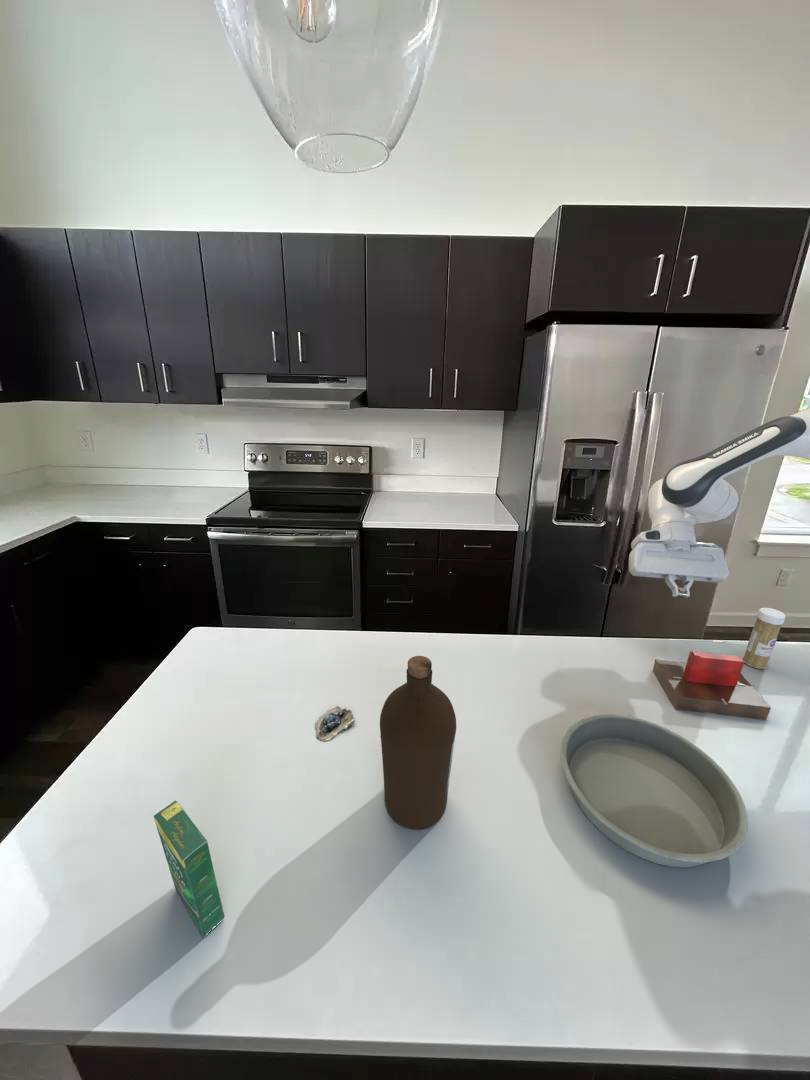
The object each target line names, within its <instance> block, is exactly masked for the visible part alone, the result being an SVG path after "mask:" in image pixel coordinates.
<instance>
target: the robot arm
mask: <svg viewBox="0 0 810 1080" xmlns="http://www.w3.org/2000/svg"><path fill="white" fill-rule="evenodd" d="M781 456H783V457H795V458H801V459H803V460H804V459H805V460H810V406H809V407H808V408H805V409H803V410H801V411H799V412H796V413H793V414H791V415H786V416H781V417H778V418H775V419H772V420H770V421H767V422H765V423H763V424H761V425H759V426H757V427H755V428H753V429H751V430H749V431H747V432H745V433H743V434H742V435H739V436H737V437H735V438H734V439H732V440H730V441H728V442H726V443H723V444H722V445H719V446H718V447H716V448H714V449H712V450H711V451H708V452H707V453H703V454H702V455H699V456H697V457H694V458H689V459H687V460H683V461H681V462H679V463H677V464H675V465H674V466H673V467H671V468H670V469H669V470H668V471H667V472H666V474H665V475H664V477H663V478H659V480H657V481H655V482H654V483H653V484H652V485H651V487H650V488H649V491H648V496H647V507H648V517H649V519H650V522H651V528H650V529H649V530H645V531H641V532H640V533H638V534H637V535H636V537H634V539H632V541H631V543H630V547H631V551H630V552H629V555H628V571H629V573H630V575H632V576H633V577H642V578H655V579H664V582H665V584H666V585H667V587H668V588H669V589H670V590H671V595H672V597H673V598H690V597H691V596H690V595H691V593H690V592H691V591H690V589H691V587H692V585H693V584H694V582H705V583H722V582H724V581H725V580H726V579H727V578H728V577H729V576H730V570H729V567H728V563H727V560H726V558H725V552H724V549H723V548H722V547H721V546H719V545H717V544H716V543H713V542H708V543H707V542H698V541H697V538H696V533H695V525H703V524H710V523H717V522H720V521H724V520H725V519H726V520H727V518H729V517H730V516H732V515H733V514H734V513H735V512H736V510H737V509H738V507H739V504H740V493H739V492H738V490H737V489H736V488H735V487H734V486H732V485H731V484H730V483H729V482H728V481H727V480H724V478H726V477H728V476H731V475H732V474H734V473H736V472H739V471H740V470H743V469H745V468H747V467H749V466H751V465H754V464H755V463H758V462H759V461H762V460H765V459H767V458H772V457H781ZM676 580H680V581H681V583H682V584H683V587H679V586H678V585H677V583H676V582H675V581H676Z"/></svg>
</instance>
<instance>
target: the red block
mask: <svg viewBox="0 0 810 1080" xmlns="http://www.w3.org/2000/svg"><path fill="white" fill-rule="evenodd" d="M686 663H687V664H686V667H685V671H684V674H683V677H684V678H685V680H686V681H687V682H696V683H705V684H714V685H723V686H732V687H736V684H737V682H738V679H739V676H740V673H741V674H742V670H743V667H744V664H745V663H744V661H743V658H741V657H740V656H737V655H728V654H718V653H710V652H708V653H707V652H698V651H695V650H691V651H689V654H688V658H687V660H686Z"/></svg>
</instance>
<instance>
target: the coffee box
mask: <svg viewBox="0 0 810 1080" xmlns="http://www.w3.org/2000/svg"><path fill="white" fill-rule="evenodd" d="M153 820H154V824H155V826H156V830H157V833H158V835H159V836H158V837H159V840H160V843H161V846H162V849H163V852H164V856H165V859H166V862H167V866H168V869H169V872H170V875H171V879H172V882H173V886H174V888H176V889H175V891H176V893H177V892H178V893H177V895H178V896H179V898H180V900H181V902H182V904H183V906H184V908H185V909H186V911H187V913H188V914H189V916H190V918H191V919H192V921H193V923H194V925H195V927H196V926H197V927H196V928H197V930H198V931H199V934H200V935H201V937H202V938H203V937H204V938H206V937H207V936H206V934H207V933H208V932H209V931H210V930H211V929H212V928H213V927H214V926H216V925H217V924H218V923H219V922H220V921H221V920H222V919H223V918H224V917H225V918H226V916H225V912H224V908H223V903H222V900H221V894H220V891H219V888H218V883H217V878H216V874H215V869H214V865H213V861H212V856H211V852H210V847H209V843H208V840H207V838H206V837H205V836H204V835H203V833H202V832H201V831H200V829H199V828H198V827H197V825H196V824H195V823H194V822H193V820H192V819H191V817H190V816H189V815H188V813H187V812H186V811H185V810H184V809H183V807H182V806H181V804H180V803H179V802H178V801H177V800H173V802H171V803H170V804H168V805H167V806H166V807H164V808H163V809H161V810H159V811H158V812H156V813H155V814H154V815H153ZM225 918H224V919H225ZM224 919H223V920H224ZM223 920H222V921H223ZM205 936H206V937H205Z"/></svg>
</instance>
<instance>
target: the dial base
mask: <svg viewBox="0 0 810 1080" xmlns="http://www.w3.org/2000/svg"><path fill="white" fill-rule="evenodd" d="M686 664H687V662H685V661H684V662H683V661H674V660H666V659H654V664H653V666H652V670H651V671H652V672H653V674H654V676H655V677H656V679H657V681H658V683H659V684H660V686H661V688H662V689H663V691H664V693H665V695H666V696H667V698H668V700H669V701H670V703H671V705H672V707H673V708H674V710H679V711H687V712H694V713H695V712H697V713H704V714H712V715H722V716H728V717H737V718H746V719H754V720H762V721H767V719H768V717H769V714H770V712H771V709H772V707H771V706H770V704H769V703H768V702H767V701H766V700H765V698H763V696H761V694H760V693H759V692H758V691H757V690H756V688H754V686H753V685H752V684H751V683H750V682H749V681H748V680H747V679H746V678H745V676H744V675H743V674H742V672H741V673H740V676H739V679H738V682H737V684H736V687H732V686H723V685H714V684H705V683H696V682H687V681H686V680H685V678H684V677H683V674H684V671H685V667H686Z"/></svg>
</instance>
